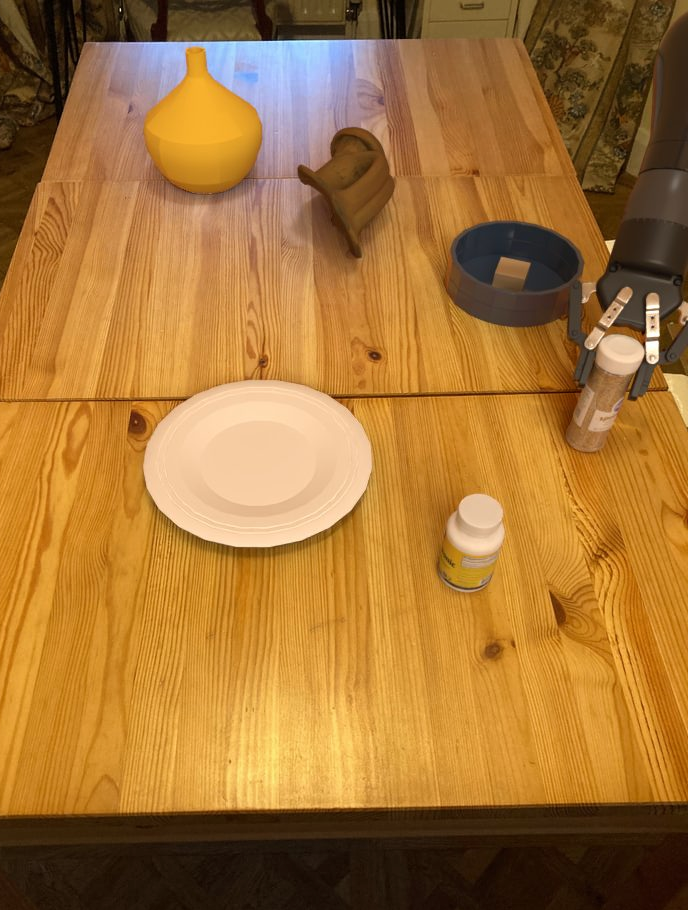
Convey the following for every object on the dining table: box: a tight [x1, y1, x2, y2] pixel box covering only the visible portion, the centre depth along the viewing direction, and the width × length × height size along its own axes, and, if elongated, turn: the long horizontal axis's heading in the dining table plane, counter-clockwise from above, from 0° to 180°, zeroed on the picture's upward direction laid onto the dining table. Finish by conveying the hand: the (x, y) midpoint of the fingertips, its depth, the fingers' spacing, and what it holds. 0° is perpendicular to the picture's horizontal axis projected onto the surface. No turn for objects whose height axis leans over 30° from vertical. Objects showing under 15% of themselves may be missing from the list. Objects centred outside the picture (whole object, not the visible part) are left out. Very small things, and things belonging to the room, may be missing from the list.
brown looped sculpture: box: [296, 126, 396, 259], centre depth 112 cm, size 18×13×22 cm
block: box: [492, 257, 531, 292], centre depth 103 cm, size 4×4×4 cm
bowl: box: [444, 219, 585, 328], centre depth 104 cm, size 17×17×6 cm
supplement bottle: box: [437, 493, 506, 593], centre depth 73 cm, size 5×5×10 cm
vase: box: [142, 46, 263, 195], centre depth 117 cm, size 18×18×19 cm
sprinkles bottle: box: [564, 333, 645, 453], centre depth 83 cm, size 5×5×14 cm
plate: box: [142, 379, 373, 549], centre depth 84 cm, size 25×25×2 cm
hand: (606, 393), depth 79 cm, fingers closed on sprinkles bottle, 4 cm apart
